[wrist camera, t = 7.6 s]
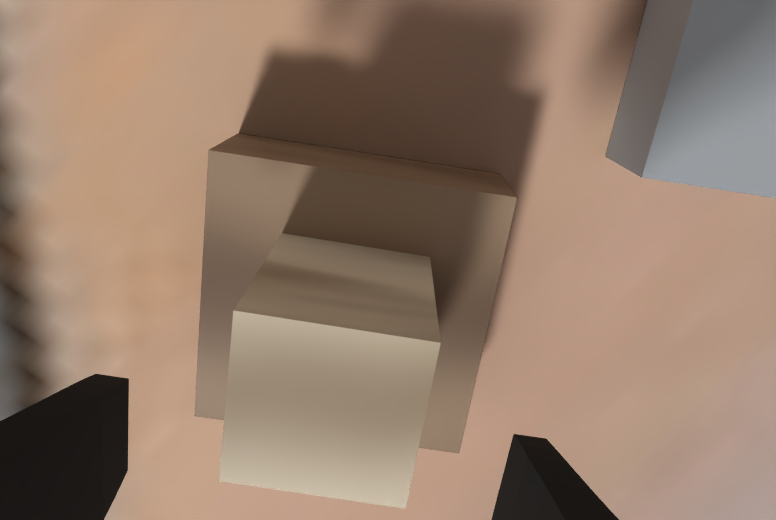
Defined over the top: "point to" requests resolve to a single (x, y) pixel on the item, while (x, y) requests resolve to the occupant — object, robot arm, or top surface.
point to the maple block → (331, 372)
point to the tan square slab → (357, 227)
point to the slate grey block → (702, 96)
